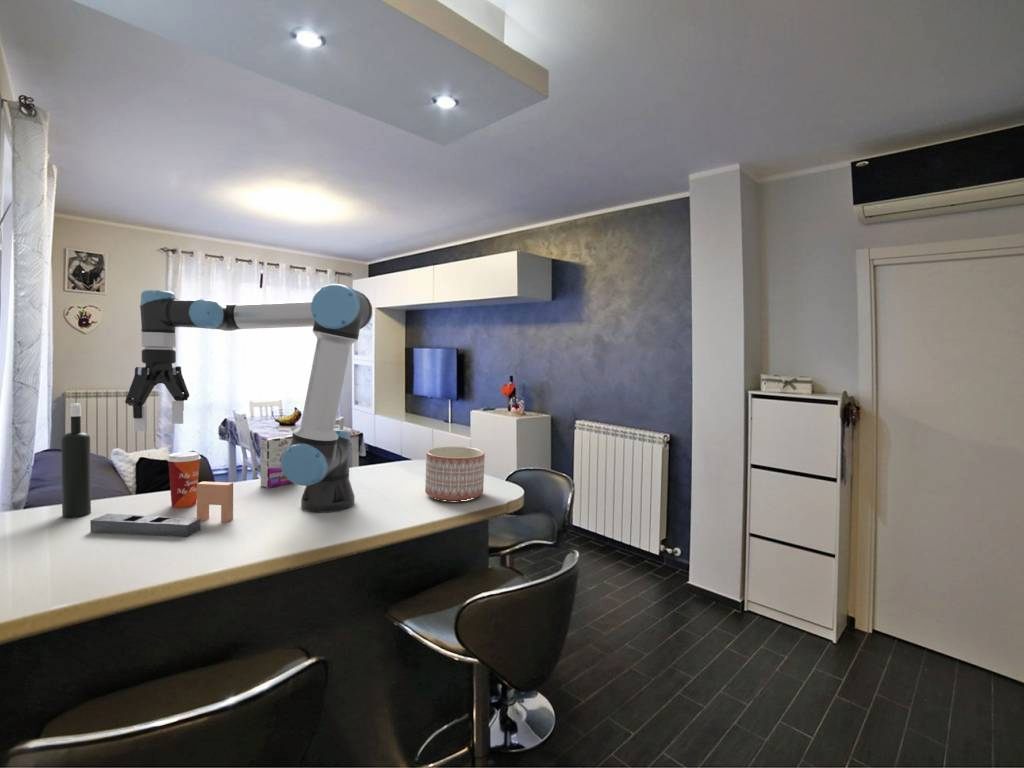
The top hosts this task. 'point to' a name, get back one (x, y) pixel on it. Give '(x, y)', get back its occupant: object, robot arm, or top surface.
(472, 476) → the planter
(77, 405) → the wine bottle
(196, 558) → the top surface
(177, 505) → the coffee cup
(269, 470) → the candy bar box
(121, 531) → the rail
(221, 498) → the clip
